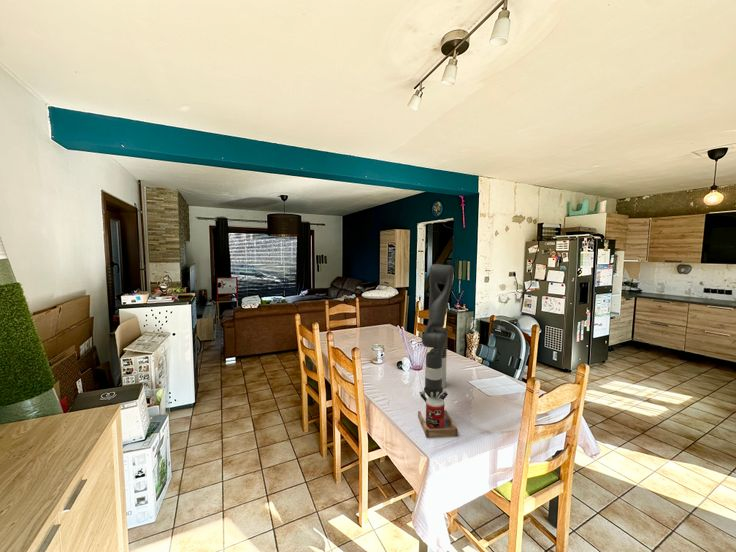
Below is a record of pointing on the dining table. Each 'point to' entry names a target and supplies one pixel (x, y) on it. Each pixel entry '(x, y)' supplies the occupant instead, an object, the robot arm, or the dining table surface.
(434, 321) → the robot arm
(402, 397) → the dining table surface
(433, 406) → the canned food
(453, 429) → the corral
